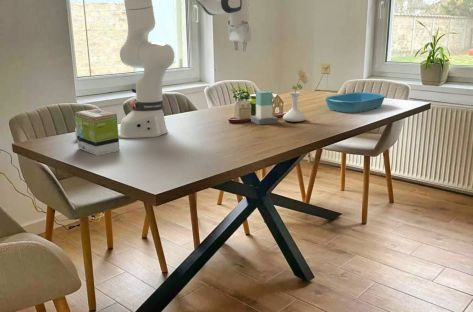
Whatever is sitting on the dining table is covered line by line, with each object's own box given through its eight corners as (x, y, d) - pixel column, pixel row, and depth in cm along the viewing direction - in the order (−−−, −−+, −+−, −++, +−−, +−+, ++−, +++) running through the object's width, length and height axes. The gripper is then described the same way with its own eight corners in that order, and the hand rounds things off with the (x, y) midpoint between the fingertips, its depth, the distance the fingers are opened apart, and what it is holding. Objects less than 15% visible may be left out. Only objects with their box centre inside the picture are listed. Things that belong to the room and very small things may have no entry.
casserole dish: (351, 116, 248) (351, 102, 246) (317, 110, 264) (317, 97, 262) (391, 107, 271) (392, 94, 269) (358, 103, 287) (358, 90, 285)
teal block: (260, 105, 228) (260, 93, 227) (255, 103, 234) (255, 91, 232) (272, 104, 230) (272, 92, 229) (267, 103, 236) (267, 90, 234)
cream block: (260, 118, 230) (260, 105, 228) (255, 116, 235) (255, 104, 233) (272, 117, 232) (272, 104, 230) (267, 115, 237) (267, 103, 236)
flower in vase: (294, 124, 228) (295, 70, 221) (277, 121, 236) (278, 69, 230) (313, 120, 236) (315, 68, 229) (296, 117, 244) (297, 67, 237)
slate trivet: (258, 124, 228) (258, 119, 227) (250, 120, 237) (250, 115, 236) (277, 122, 231) (278, 117, 231) (269, 119, 240) (269, 114, 240)
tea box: (77, 149, 187) (73, 111, 183) (100, 144, 194) (97, 108, 190) (96, 156, 177) (93, 116, 173) (120, 151, 184) (117, 112, 180)
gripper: (254, 21, 223) (254, 51, 226) (237, 21, 241) (238, 49, 245) (241, 21, 221) (241, 52, 224) (226, 21, 239) (226, 50, 243)
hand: (239, 51), depth 235 cm, fingers open, 8 cm apart
